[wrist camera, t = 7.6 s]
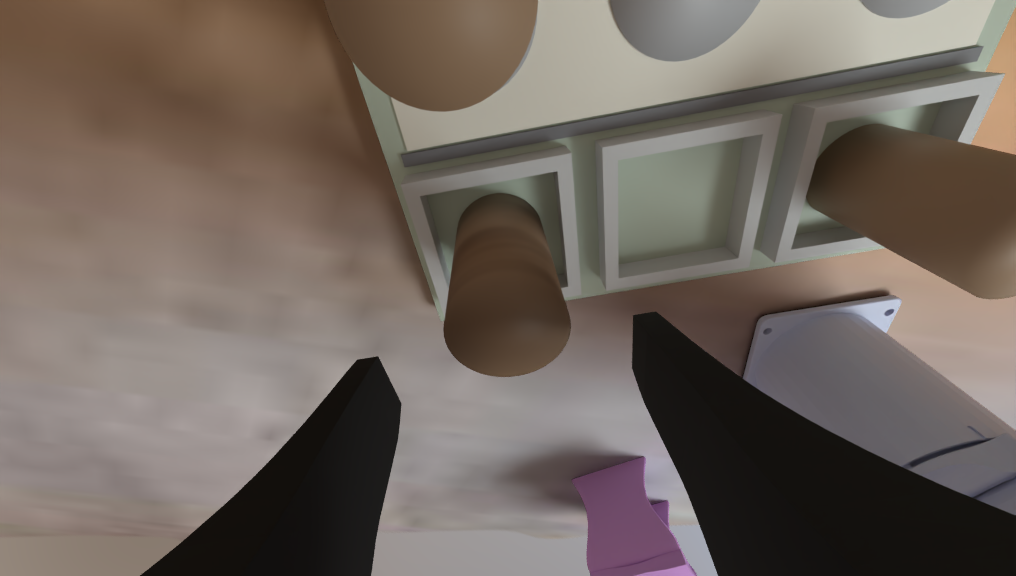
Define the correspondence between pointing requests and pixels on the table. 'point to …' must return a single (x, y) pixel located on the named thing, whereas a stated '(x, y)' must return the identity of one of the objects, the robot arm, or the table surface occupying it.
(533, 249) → the walnut pin
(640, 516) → the toy chair
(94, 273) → the table surface
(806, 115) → the pin board
